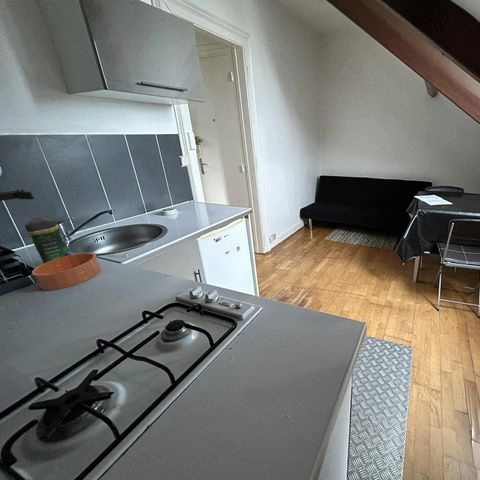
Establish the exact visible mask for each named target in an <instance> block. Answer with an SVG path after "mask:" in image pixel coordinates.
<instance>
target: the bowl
mask: <svg viewBox="0 0 480 480" xmlns="http://www.w3.org/2000/svg"><path fill="white" fill-rule="evenodd" d="M101 271H102V266H101V263H100V261H99V260H98V256H97V255H96V253H95V252H94V253H93V252H80V253H74V254H73V253H72V254H71V255H68V256H64V257H60V258H57V259H54V260H51V261H49V262H46V263H42V264H40V265H38V266H37V267H35V268H34V269H32V271H31V274H32V276H33V278H34V280H35V281H36V284H37V285H38V287H39V288H40V289H41V290H43V291H55V290H61V289H62V290H63V289H66V288H69V287H74V286H76V285H79V284H81V283H84V282H86V281H88V280H90V279H92V278H95V277H96V276H98V274H100V273H101Z"/></svg>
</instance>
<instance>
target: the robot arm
mask: <svg viewBox="0 0 480 480" xmlns="http://www.w3.org/2000/svg"><path fill="white" fill-rule="evenodd" d="M2 173H3V170H2V167H1V166H0V177H1V176H2ZM16 199H18V200H35V197H34V195H33V194H32V192H31V191H26V189H20V188H17V189H16V190H7V191H0V202H2V201H9V200H16Z"/></svg>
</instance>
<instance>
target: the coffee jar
mask: <svg viewBox="0 0 480 480" xmlns="http://www.w3.org/2000/svg"><path fill="white" fill-rule="evenodd" d="M24 228H25V230H26V232H27V234H28V235H29V237H30V239H31V241H32V243H33V245H34V247H35V249H36V251H37V253H38V255H39V257H40V259H41V261H42V264H44V263H46V262H49V261H51V260H54V259H57V258H60V257H64V256H68V255H72V253H71V251H70V249H69V246H68V244H67V241H66V239H65V237H64V235H63V234H62V231H61V229H60V226H59V225H58V223H57V221H56V218H55V217H51V216H48V215H44V216H38V217H33V218H32V219H31V220H29V221H27V222H26V223H25V224H24Z"/></svg>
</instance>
